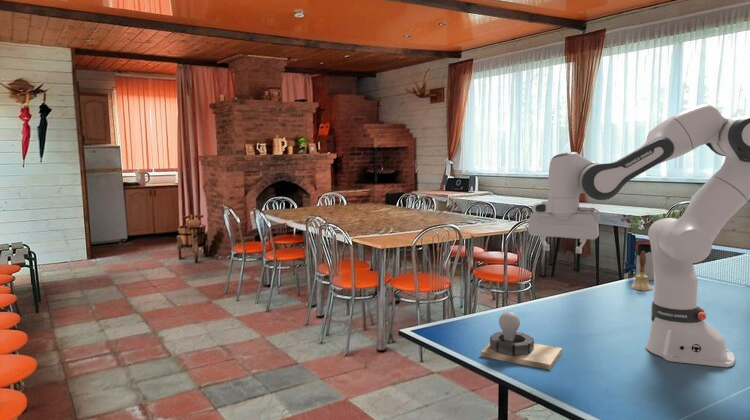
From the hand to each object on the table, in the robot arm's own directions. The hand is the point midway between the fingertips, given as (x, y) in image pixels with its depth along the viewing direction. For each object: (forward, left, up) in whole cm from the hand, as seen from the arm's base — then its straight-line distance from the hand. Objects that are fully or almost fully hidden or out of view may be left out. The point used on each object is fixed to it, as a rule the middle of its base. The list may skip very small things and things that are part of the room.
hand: (562, 251), depth 164 cm
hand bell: (-15, -83, -29) cm, 89 cm away
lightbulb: (+12, +14, -28) cm, 33 cm away
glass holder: (-14, -106, -29) cm, 111 cm away
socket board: (+8, +14, -29) cm, 33 cm away
